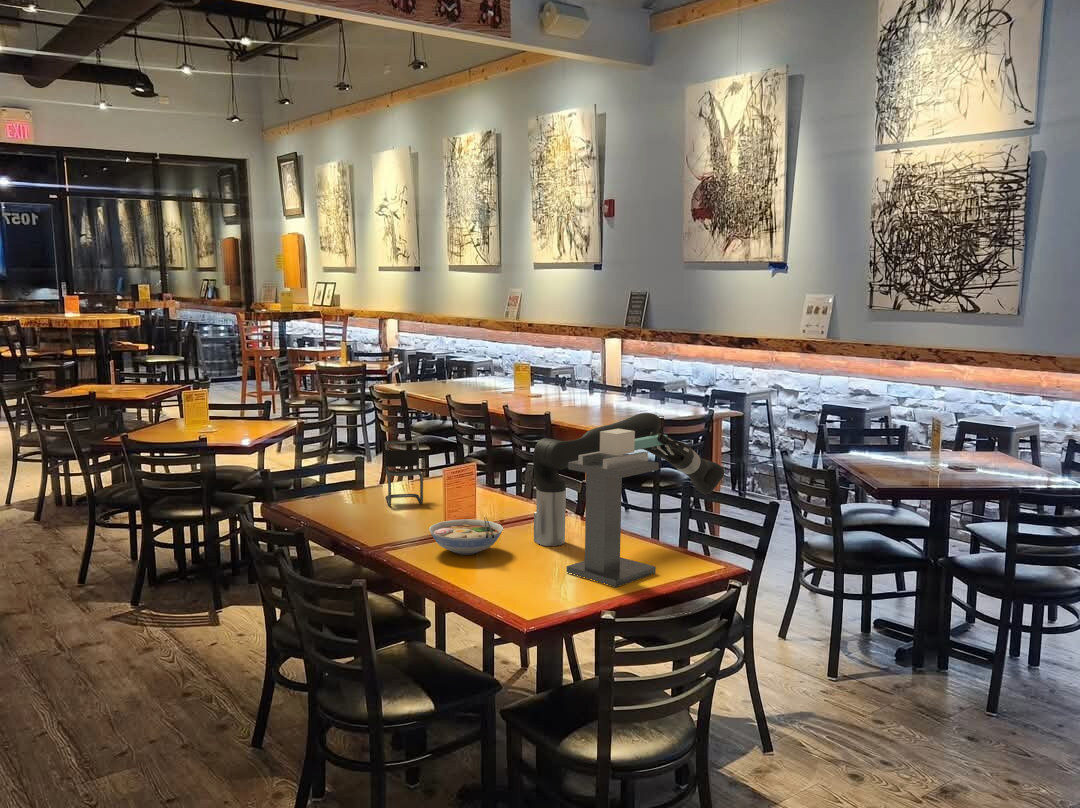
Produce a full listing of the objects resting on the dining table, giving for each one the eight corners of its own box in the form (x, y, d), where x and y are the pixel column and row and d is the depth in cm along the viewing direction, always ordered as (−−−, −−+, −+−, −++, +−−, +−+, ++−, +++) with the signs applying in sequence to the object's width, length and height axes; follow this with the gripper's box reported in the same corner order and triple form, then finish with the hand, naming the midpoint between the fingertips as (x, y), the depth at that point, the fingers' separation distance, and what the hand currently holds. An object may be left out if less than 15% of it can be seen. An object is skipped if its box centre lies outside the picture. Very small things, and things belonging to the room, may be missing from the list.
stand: (566, 573, 260) (568, 453, 256) (606, 560, 273) (609, 446, 269) (615, 587, 248) (618, 462, 244) (655, 573, 261) (658, 454, 257)
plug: (599, 452, 257) (600, 431, 256) (655, 442, 275) (656, 422, 275) (616, 455, 253) (616, 434, 252) (671, 444, 271) (672, 424, 271)
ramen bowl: (429, 541, 292) (429, 516, 291) (501, 540, 294) (501, 515, 293) (427, 564, 267) (427, 536, 266) (505, 563, 270) (505, 535, 269)
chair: (418, 495, 357) (418, 439, 354) (423, 505, 340) (423, 447, 338) (384, 497, 354) (384, 440, 351) (388, 507, 337) (387, 448, 335)
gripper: (668, 444, 287) (639, 421, 275) (706, 449, 278) (678, 426, 266) (661, 466, 285) (631, 444, 274) (698, 472, 276) (670, 450, 264)
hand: (654, 435), depth 270 cm, fingers closed on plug, 2 cm apart
